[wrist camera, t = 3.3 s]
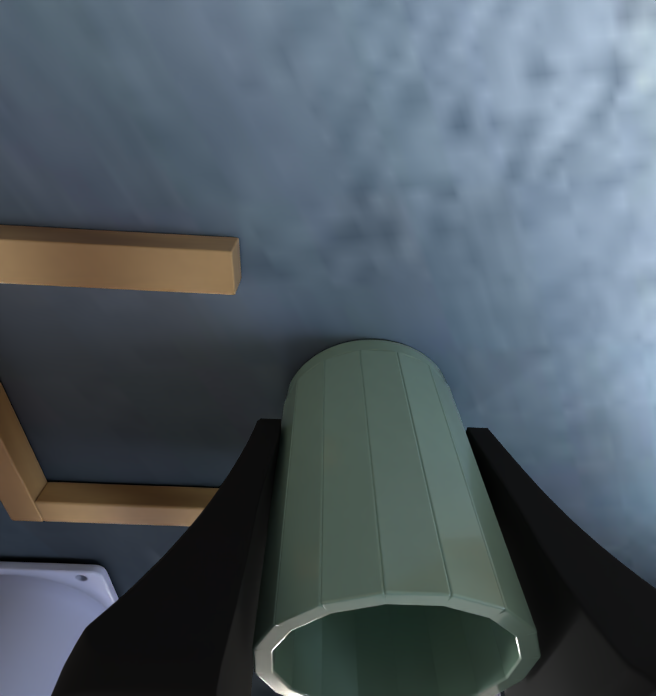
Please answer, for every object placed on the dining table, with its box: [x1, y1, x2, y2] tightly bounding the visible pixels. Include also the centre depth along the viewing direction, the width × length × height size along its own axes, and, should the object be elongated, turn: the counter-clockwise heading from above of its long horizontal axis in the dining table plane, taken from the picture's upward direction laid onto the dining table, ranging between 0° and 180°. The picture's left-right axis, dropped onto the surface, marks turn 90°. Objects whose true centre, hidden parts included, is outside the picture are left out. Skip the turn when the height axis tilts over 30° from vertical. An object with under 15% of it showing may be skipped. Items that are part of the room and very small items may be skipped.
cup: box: [252, 339, 541, 696], centre depth 12 cm, size 6×6×8 cm
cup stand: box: [0, 225, 241, 526], centre depth 14 cm, size 9×11×1 cm
